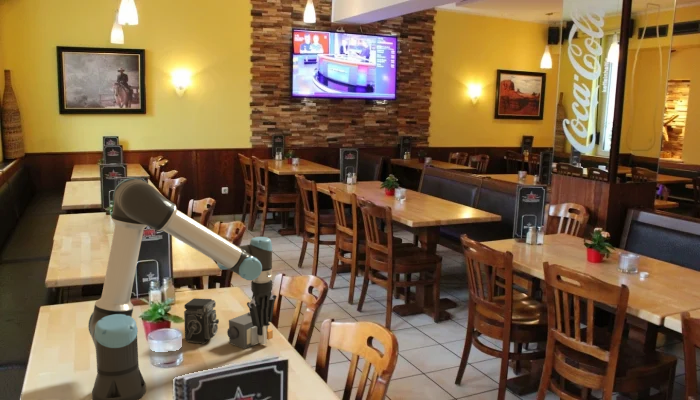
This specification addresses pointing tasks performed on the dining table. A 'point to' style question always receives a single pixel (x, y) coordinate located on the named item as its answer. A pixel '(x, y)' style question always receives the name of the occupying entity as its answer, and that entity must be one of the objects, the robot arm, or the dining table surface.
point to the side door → (255, 336)
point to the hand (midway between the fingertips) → (262, 342)
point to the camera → (200, 320)
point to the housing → (240, 331)
